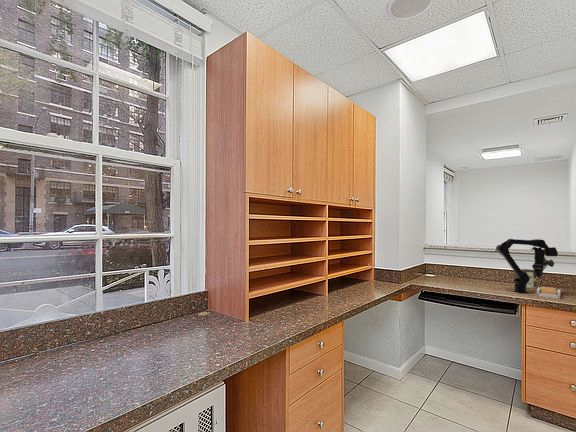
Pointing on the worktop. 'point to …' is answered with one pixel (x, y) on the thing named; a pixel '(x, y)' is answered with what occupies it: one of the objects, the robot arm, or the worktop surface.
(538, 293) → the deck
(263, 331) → the worktop surface
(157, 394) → the worktop surface
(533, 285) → the coffee can
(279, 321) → the worktop surface
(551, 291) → the orange stepped block
